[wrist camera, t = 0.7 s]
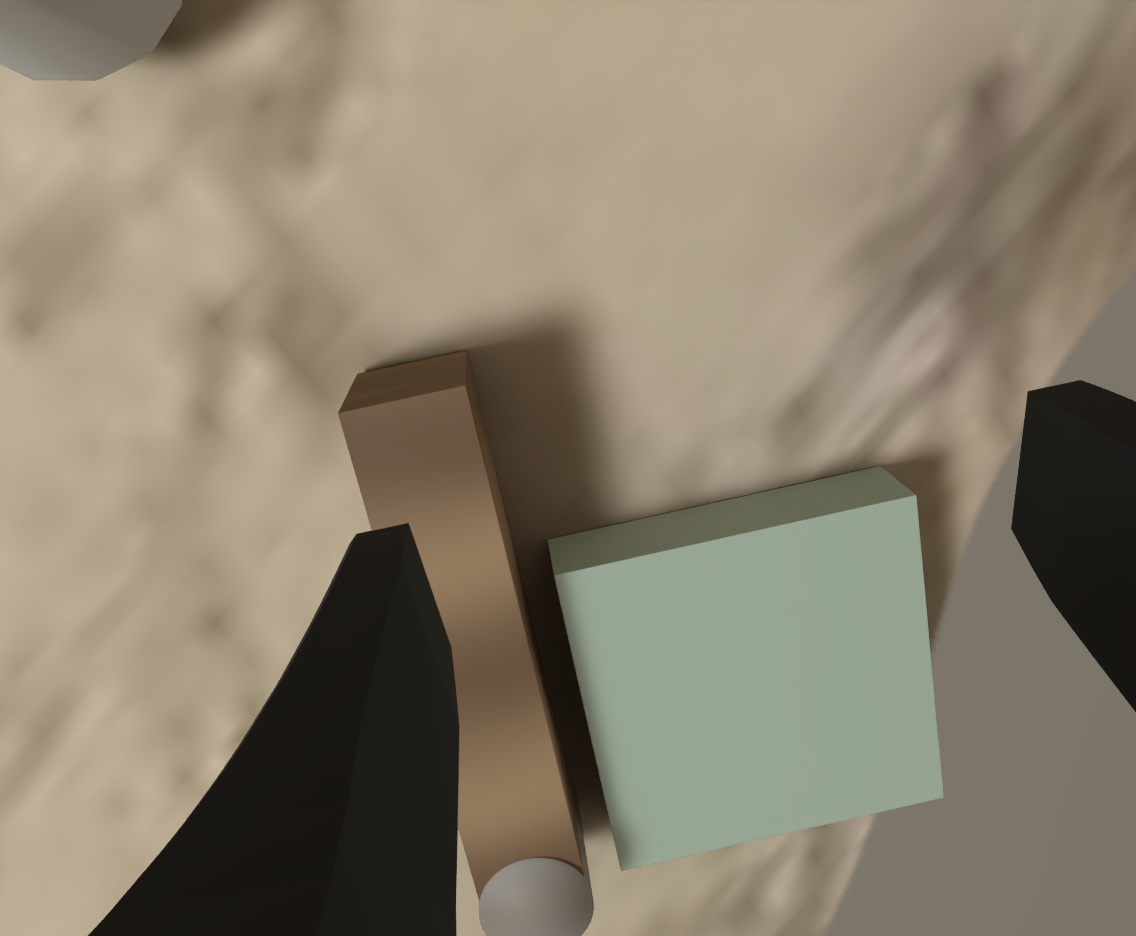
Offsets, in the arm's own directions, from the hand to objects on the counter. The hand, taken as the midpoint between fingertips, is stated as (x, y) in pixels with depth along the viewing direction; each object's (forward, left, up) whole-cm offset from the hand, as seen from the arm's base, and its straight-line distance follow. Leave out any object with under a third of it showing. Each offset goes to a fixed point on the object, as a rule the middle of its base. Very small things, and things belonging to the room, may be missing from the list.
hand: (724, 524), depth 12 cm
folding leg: (-9, +5, -16) cm, 19 cm away
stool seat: (-12, -3, -16) cm, 20 cm away
